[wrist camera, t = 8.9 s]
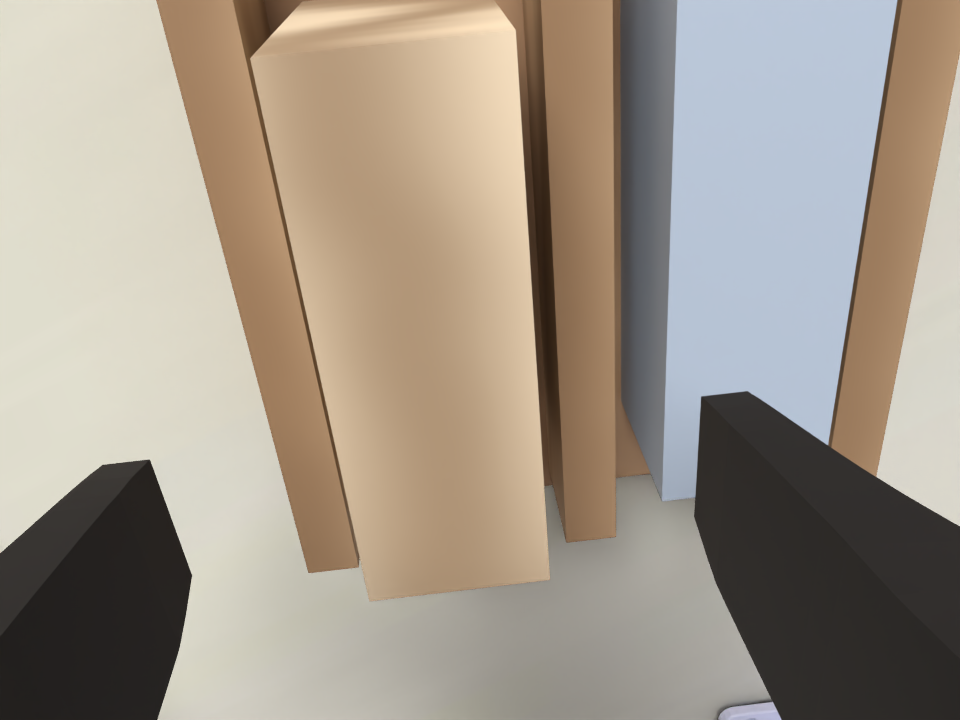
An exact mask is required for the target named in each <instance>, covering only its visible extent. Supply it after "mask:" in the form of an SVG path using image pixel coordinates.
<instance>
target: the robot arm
mask: <svg viewBox="0 0 960 720" xmlns="http://www.w3.org/2000/svg"><path fill="white" fill-rule="evenodd" d="M694 517H695V520H696V523H697V527H698V530H699V533H700V536H701V539H702V542H703V546H704V549H705V552H706V555H707V558H708V561H709V564H710V567H711V570H712V572H713V575H714V578H715V581H716V584H717V586H718V588H719V590H720V593H721V595H722V597H723V599H724V601H725V603H726V605H727V608H728V610H729V612H730V614H731V616H732V618H733V620H734V622H735V624H736V626H737V629H738V631H739V633H740V635H741V637H742V639H743V641H744V643H745V645H746V647H747V649H748V651H749V654H750V656H751V658H752V660H753V662H754V664H755V666H756V668H757V670H758V672H759V674H760V676H761V678H762V680H763V682H764V685H765V687H766V689H767V691H768V693H769V695H770V697H771V699H772V701H773V702H768V703H759V704H751V705H743V706H735V707H730V708H727V709H725V710H724V711H723V712H722V713H721V714H720V716H719V720H960V526H958V525H956V524H954V523H952V522H951V521H949V520H947V519H946V518H944V517H942V516H940V515H939V514H937V513H935V512H933V511H932V510H930V509H928V508H927V507H925V506H923V505H921V504H920V503H918V502H916V501H915V500H913V499H911V498H909V497H908V496H906V495H904V494H903V493H901V492H899V491H898V490H896V489H895V488H893V487H891V486H890V485H888V484H886V483H885V482H883V481H882V480H880V479H878V478H877V477H875V476H874V475H872V474H871V473H869V472H867V471H866V470H864V469H863V468H861V467H860V466H858V465H857V464H855V463H854V462H852V461H851V460H849V459H848V458H846V457H844V456H843V455H841V454H840V453H839V452H837V451H836V450H834V449H833V448H831V447H830V446H828V445H827V444H825V443H824V442H822V441H821V440H819V439H818V438H816V437H815V436H813V435H812V434H811V433H809V432H808V431H806V430H805V429H803V428H802V427H800V426H799V425H797V424H796V423H794V422H793V421H792V420H790V419H789V418H787V417H786V416H784V415H783V414H781V413H780V412H779V411H777V410H776V409H774V408H773V407H771V406H770V405H768V404H767V403H765V402H764V401H762V400H761V399H759V398H758V397H756V396H754V395H753V394H751V393H750V392H748V391H744V392H735V393H726V394H718V395H709V396H701V408H700V425H699V443H698V460H697V478H696V495H695V513H694ZM191 578H192V574H191V571H190V569H189V566H188V563H187V560H186V558H185V555H184V552H183V549H182V547H181V544H180V541H179V538H178V536H177V533H176V530H175V527H174V525H173V522H172V519H171V516H170V514H169V511H168V508H167V506H166V503H165V500H164V497H163V495H162V492H161V489H160V486H159V484H158V481H157V478H156V475H155V473H154V470H153V467H152V464H151V462H150V460H142V461H133V462H124V463H116V464H107V465H102V466H101V467H100V468H98V469H97V470H96V471H94V472H93V473H92V474H90V475H89V476H88V477H87V478H86V479H84V480H83V481H82V482H81V483H80V484H78V485H77V486H76V487H75V488H74V489H73V490H71V491H70V492H69V493H68V494H67V495H66V496H65V497H63V498H62V499H61V500H60V501H59V502H58V503H57V504H55V505H54V506H53V507H52V508H51V509H50V510H49V511H48V512H46V513H45V514H44V515H43V516H42V517H41V518H40V519H39V520H38V521H36V522H35V523H34V524H33V525H32V526H31V527H30V528H29V529H27V530H26V531H25V532H24V533H23V534H22V535H21V536H19V537H18V538H17V539H16V540H15V541H14V542H13V543H12V544H10V545H9V546H8V547H7V548H6V549H5V550H4V551H2V552H1V553H0V720H157V719H158V715H159V712H160V709H161V706H162V703H163V700H164V697H165V693H166V690H167V687H168V684H169V680H170V677H171V674H172V671H173V668H174V664H175V661H176V658H177V654H178V651H179V648H180V643H181V637H182V632H183V627H184V622H185V616H186V610H187V604H188V597H189V591H190V585H191Z"/></svg>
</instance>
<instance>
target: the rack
mask: <svg viewBox="0 0 960 720" xmlns="http://www.w3.org/2000/svg"><path fill="white" fill-rule="evenodd" d="M156 1H157V4H158V8H159V12H160V16H161V20H162V23H163V27H164V31H165V35H166V38H167V42H168V46H169V50H170V53H171V57H172V61H173V65H174V68H175V72H176V76H177V80H178V84H179V87H180V91H181V95H182V99H183V102H184V106H185V110H186V114H187V117H188V121H189V125H190V129H191V132H192V136H193V140H194V144H195V147H196V151H197V155H198V159H199V163H200V166H201V170H202V174H203V178H204V181H205V185H206V189H207V193H208V196H209V200H210V204H211V208H212V211H213V215H214V219H215V223H216V227H217V230H218V234H219V238H220V242H221V245H222V249H223V253H224V257H225V260H226V264H227V268H228V272H229V275H230V279H231V283H232V287H233V291H234V294H235V298H236V302H237V306H238V309H239V313H240V317H241V321H242V324H243V328H244V332H245V336H246V339H247V343H248V347H249V351H250V354H251V358H252V362H253V366H254V370H255V373H256V377H257V381H258V385H259V388H260V392H261V396H262V400H263V403H264V407H265V411H266V415H267V418H268V422H269V426H270V430H271V434H272V437H273V441H274V445H275V449H276V452H277V456H278V460H279V464H280V467H281V471H282V475H283V479H284V482H285V486H286V490H287V494H288V497H289V501H290V505H291V509H292V513H293V516H294V520H295V524H296V528H297V531H298V535H299V539H300V543H301V546H302V550H303V554H304V558H305V561H306V565H307V569H308V573H314V572H322V571H331V570H339V569H348V568H356V567H359V557H360V556H359V552H358V547H357V543H356V538H355V534H354V529H353V524H352V520H351V515H350V511H349V506H348V502H347V497H346V493H345V488H344V483H343V479H342V474H341V470H340V465H339V461H338V456H337V452H336V447H335V442H334V438H333V433H332V429H331V424H330V420H329V415H328V411H327V406H326V401H325V397H324V392H323V388H322V383H321V379H320V374H319V370H318V365H317V360H316V356H315V351H314V347H313V342H312V338H311V333H310V329H309V324H308V319H307V315H306V310H305V306H304V301H303V297H302V292H301V288H300V283H299V279H298V274H297V269H296V265H295V260H294V256H293V251H292V247H291V242H290V238H289V233H288V228H287V224H286V219H285V215H284V210H283V206H282V201H281V197H280V192H279V187H278V183H277V178H276V174H275V169H274V165H273V160H272V156H271V151H270V146H269V142H268V137H267V133H266V128H265V124H264V119H263V115H262V110H261V105H260V101H259V96H258V92H257V87H256V83H255V78H254V74H253V69H252V65H251V60H250V58H251V57H252V56H253V55H254V53H255V52H256V51H257V50H258V49H259V48H260V47H261V46H262V45H263V44H264V43H265V41H266V40H267V39H268V38H269V37H270V36H271V35H272V34H273V33H274V32H275V31H276V30H277V28H278V27H279V26H280V25H281V24H282V23H283V22H284V21H285V20H286V19H287V18H288V17H289V15H290V14H291V13H292V12H293V11H294V10H295V9H296V8H297V7H298V6H299V5H300V3H301V2H303V1H312V0H156ZM495 2H496V3H497V5H498V6H499V7H500V9H501V10H502V12H503V13H504V14H505V16H506V17H507V19H508V20H509V21H510V23H511V24H512V25H513V27H514V28H515V30H516V42H517V58H518V74H519V90H520V106H521V123H522V139H523V155H524V171H525V187H526V203H527V219H528V235H529V251H530V267H531V283H532V299H533V315H534V331H535V347H536V363H537V379H538V396H539V412H540V428H541V444H542V460H543V476H544V486H549V485H553V488H554V492H555V497H556V501H557V505H558V509H559V514H560V518H561V522H562V526H563V531H564V535H565V539H566V543H568V542H577V541H585V540H594V539H602V538H611V537H616V478H617V477H626V476H634V475H643V474H651V473H650V471H649V468H648V466H647V463H646V461H645V458H644V456H643V454H642V451H641V449H640V446H639V444H638V441H637V439H636V436H635V434H634V431H633V429H632V426H631V424H630V422H629V419H628V417H627V414H626V412H625V409H624V407H623V404H622V402H621V122H620V0H495ZM959 54H960V0H897V6H896V12H895V19H894V25H893V32H892V38H891V44H890V51H889V57H888V64H887V70H886V76H885V83H884V89H883V96H882V102H881V109H880V115H879V121H878V128H877V134H876V141H875V147H874V153H873V160H872V166H871V173H870V179H869V185H868V192H867V198H866V205H865V211H864V217H863V224H862V230H861V237H860V243H859V250H858V256H857V262H856V269H855V275H854V282H853V288H852V294H851V301H850V307H849V314H848V320H847V327H846V333H845V339H844V346H843V352H842V359H841V365H840V371H839V378H838V384H837V391H836V397H835V403H834V410H833V416H832V423H831V429H830V435H829V442H828V446H830V447H831V448H833V449H834V450H836V451H837V452H839V453H840V454H841V455H843V456H844V457H846V458H848V459H849V460H851V461H852V462H854V463H855V464H857V465H858V466H860V467H861V468H863V469H864V470H866V471H867V472H869V473H871V474H872V475H874V476H875V477H876V475H877V470H878V465H879V460H880V454H881V449H882V444H883V439H884V434H885V429H886V424H887V419H888V414H889V409H890V404H891V399H892V394H893V389H894V384H895V378H896V373H897V368H898V363H899V358H900V353H901V348H902V343H903V338H904V333H905V328H906V323H907V318H908V313H909V308H910V302H911V297H912V292H913V287H914V282H915V277H916V272H917V267H918V262H919V257H920V252H921V247H922V242H923V237H924V232H925V227H926V221H927V216H928V211H929V206H930V201H931V196H932V191H933V186H934V181H935V176H936V171H937V166H938V161H939V156H940V151H941V145H942V140H943V135H944V130H945V125H946V120H947V115H948V110H949V105H950V100H951V95H952V90H953V85H954V80H955V75H956V69H957V64H958V59H959Z"/></svg>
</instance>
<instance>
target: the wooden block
mask: <svg viewBox="0 0 960 720" xmlns="http://www.w3.org/2000/svg"><path fill="white" fill-rule="evenodd" d="M250 60H251V65H252V69H253V74H254V78H255V83H256V87H257V92H258V96H259V101H260V105H261V110H262V115H263V119H264V124H265V128H266V133H267V137H268V142H269V146H270V151H271V156H272V160H273V165H274V169H275V174H276V178H277V183H278V187H279V192H280V197H281V201H282V206H283V210H284V215H285V219H286V224H287V228H288V233H289V238H290V242H291V247H292V251H293V256H294V260H295V265H296V269H297V274H298V279H299V283H300V288H301V292H302V297H303V301H304V306H305V310H306V315H307V319H308V324H309V329H310V333H311V338H312V342H313V347H314V351H315V356H316V360H317V365H318V370H319V374H320V379H321V383H322V388H323V392H324V397H325V401H326V406H327V411H328V415H329V420H330V424H331V429H332V433H333V438H334V442H335V447H336V452H337V456H338V461H339V465H340V470H341V474H342V479H343V483H344V488H345V493H346V497H347V502H348V506H349V511H350V515H351V520H352V524H353V529H354V534H355V538H356V543H357V547H358V552H359V556H360V561H361V565H362V570H363V574H364V579H365V584H366V588H367V593H368V597H369V601H376V600H385V599H393V598H402V597H410V596H418V595H427V594H435V593H444V592H452V591H461V590H469V589H477V588H486V587H494V586H503V585H511V584H520V583H528V582H536V581H545V580H550V572H549V556H548V540H547V524H546V508H545V492H544V476H543V460H542V444H541V428H540V412H539V396H538V379H537V363H536V347H535V331H534V315H533V299H532V283H531V267H530V251H529V235H528V219H527V203H526V187H525V171H524V155H523V139H522V123H521V106H520V90H519V74H518V58H517V42H516V30H515V28H514V27H513V25H512V24H511V23H510V21H509V20H508V19H507V17H506V16H505V14H504V13H503V12H502V10H501V9H500V7H499V6H498V5H497V3H496V2H495V0H312V1H303V2H301V3H300V5H299V6H298V7H297V8H296V9H295V10H294V11H293V12H292V13H291V14H290V15H289V17H288V18H287V19H286V20H285V21H284V22H283V23H282V24H281V25H280V26H279V27H278V28H277V30H276V31H275V32H274V33H273V34H272V35H271V36H270V37H269V38H268V39H267V40H266V41H265V43H264V44H263V45H262V46H261V47H260V48H259V49H258V50H257V51H256V52H255V53H254V55H253V56H252V57H251V58H250Z"/></svg>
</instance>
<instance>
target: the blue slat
mask: <svg viewBox="0 0 960 720" xmlns="http://www.w3.org/2000/svg"><path fill="white" fill-rule="evenodd" d="M896 6H897V0H620V122H621V402H622V404H623V407H624V409H625V412H626V414H627V417H628V419H629V422H630V424H631V426H632V429H633V431H634V434H635V436H636V439H637V441H638V444H639V446H640V449H641V451H642V454H643V456H644V458H645V461H646V463H647V466H648V468H649V471H650V473H651V476H652V478H653V481H654V483H655V485H656V488H657V490H658V493H659V495H660V498H661V500H662V501H670V500H678V499H687V498H695V495H696V478H697V460H698V443H699V425H700V408H701V396H709V395H718V394H726V393H735V392H744V391H748V392H750V393H751V394H753V395H754V396H756V397H758V398H759V399H761V400H762V401H764V402H765V403H767V404H768V405H770V406H771V407H773V408H774V409H776V410H777V411H779V412H780V413H781V414H783V415H784V416H786V417H787V418H789V419H790V420H792V421H793V422H794V423H796V424H797V425H799V426H800V427H802V428H803V429H805V430H806V431H808V432H809V433H811V434H812V435H813V436H815V437H816V438H818V439H819V440H821V441H822V442H824V443H825V444H827V445H828V442H829V435H830V429H831V423H832V416H833V410H834V403H835V397H836V391H837V384H838V378H839V371H840V365H841V359H842V352H843V346H844V339H845V333H846V327H847V320H848V314H849V307H850V301H851V294H852V288H853V282H854V275H855V269H856V262H857V256H858V250H859V243H860V237H861V230H862V224H863V217H864V211H865V205H866V198H867V192H868V185H869V179H870V173H871V166H872V160H873V153H874V147H875V141H876V134H877V128H878V121H879V115H880V109H881V102H882V96H883V89H884V83H885V76H886V70H887V64H888V57H889V51H890V44H891V38H892V32H893V25H894V19H895V12H896Z"/></svg>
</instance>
